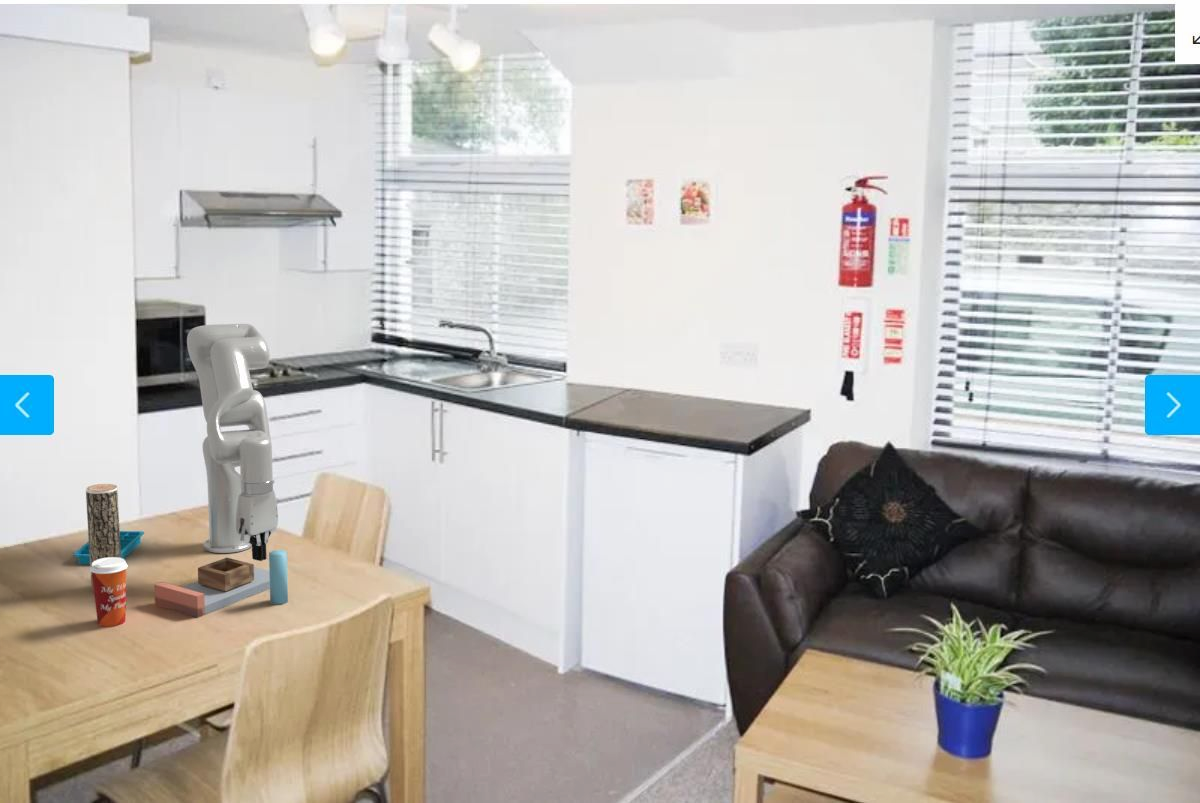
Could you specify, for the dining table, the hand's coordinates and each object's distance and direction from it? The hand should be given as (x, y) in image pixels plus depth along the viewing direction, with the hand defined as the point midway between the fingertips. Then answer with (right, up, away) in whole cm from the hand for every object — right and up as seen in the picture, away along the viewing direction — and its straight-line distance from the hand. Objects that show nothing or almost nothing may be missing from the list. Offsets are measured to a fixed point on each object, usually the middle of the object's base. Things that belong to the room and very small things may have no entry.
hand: (259, 559), depth 274 cm
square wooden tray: (-5, -4, -8) cm, 11 cm away
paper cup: (-24, -10, -28) cm, 38 cm away
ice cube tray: (-45, -1, +17) cm, 48 cm away
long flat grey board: (-6, -7, -9) cm, 13 cm away
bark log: (-34, -6, -8) cm, 36 cm away
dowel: (+9, -8, -13) cm, 17 cm away
